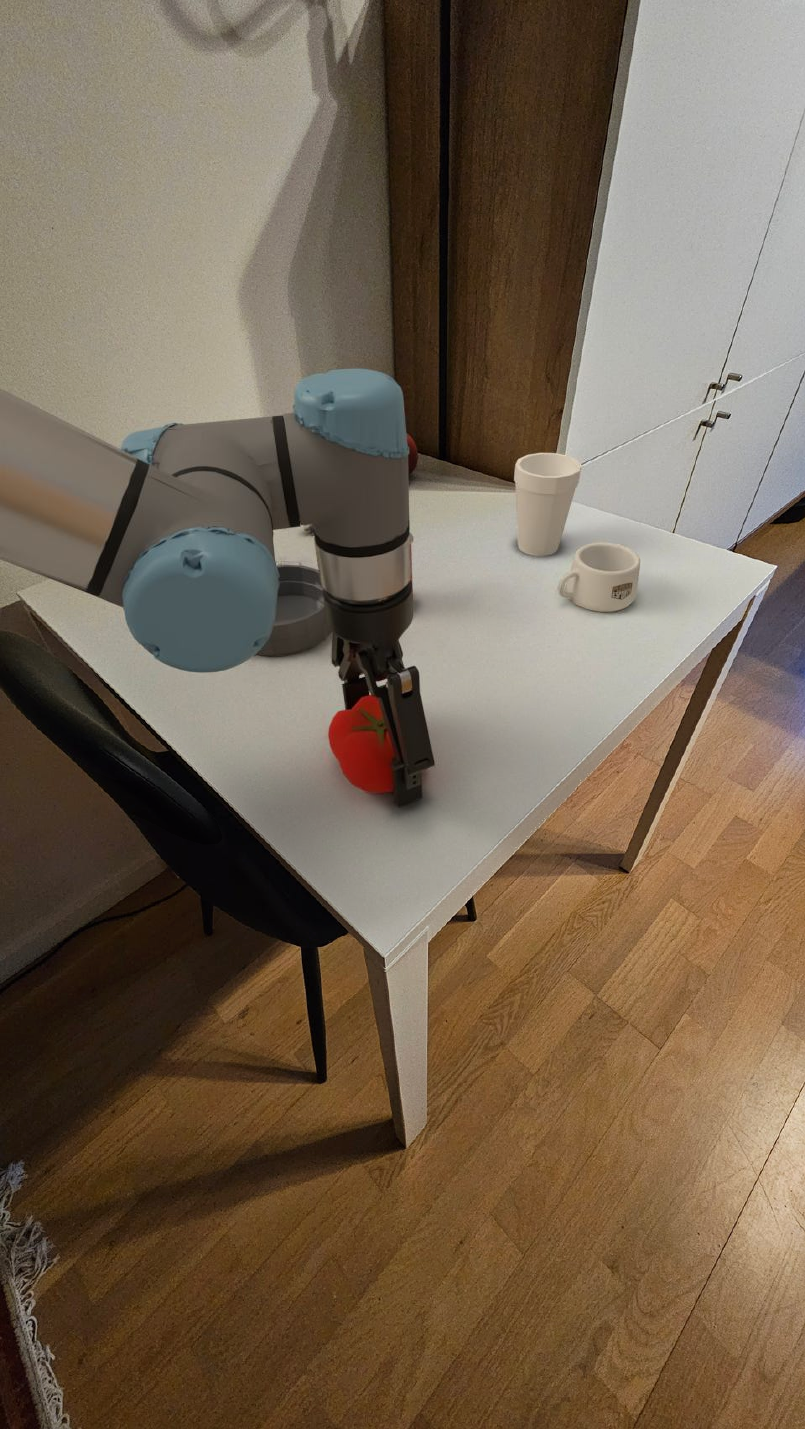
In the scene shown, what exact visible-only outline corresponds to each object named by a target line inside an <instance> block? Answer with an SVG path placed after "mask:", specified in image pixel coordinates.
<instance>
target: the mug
mask: <svg viewBox="0 0 805 1429" xmlns="http://www.w3.org/2000/svg"><path fill="white" fill-rule="evenodd" d="M640 568H641V558H640V556H639V555H638V553H637V552H636V551H634V550H632V549H631V548H629V547H627V546H624V545H622V544H618V543H613V542H593V543H592V542H591V543H588V544H585V545H583V546H581V547H579V548H578V549H577V551H575V554H574V556H573V560H572V563H571V567H570V570H569V571H568V572H566V573H565V574H563V575H562V577H561V578H560V580H559V582H558V585H557V592H558V595H560V597H562V598H565V599H570V600H571V601H572V602H573V603H574V604H576V605H577V606H580V607H582V608H583V609H586V610H590V611H593V612H594V611H595V612H602V613H605V612H607V613H608V612H609V613H611V612H616V611H617V612H618V611H621V610H624V609H625V608H627V607H629V606H630V605H632V603H633V602H634V601H635V599H636V598H637V594H638V586H639V578H640V571H641V570H640ZM564 587H565V588H564Z"/></svg>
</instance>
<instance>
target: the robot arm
mask: <svg viewBox="0 0 805 1429" xmlns="http://www.w3.org/2000/svg"><path fill="white" fill-rule="evenodd" d="M293 401H294V402H293V403H294V404H292V411H293V412H287V413H283V414H282V415H272V416H262V417H252V418H251V417H250V418H241V419H229V420H219V421H208V422H196V423H186V424H185V423H182V422H181V423H179V422H171V423H167V424H165V425H164V426H159V427H154V428H148V429H143V430H137V431H133V432H131V433H129V434H128V435H127V436H126V437H125V438H124V439H123V440H122V443H121V446H120V448H119V447H117V446H115V445H113V444H111V443H109V442H107V441H106V440H103V439H101V438H99V437H97V436H96V435H93V434H92V433H90V432H88V431H85V430H83V429H81V428H80V427H78V426H75V425H74V424H72V423H69V422H68V421H66V420H63V419H62V418H60V417H58V416H56V415H54V414H52V413H50V412H48V411H46V410H44V409H42V408H40V407H38V406H36V405H34V404H32V403H30V402H28V401H26V400H25V399H23V398H21V397H18V396H16V395H14V394H12V393H11V392H9V391H6V390H4V389H3V388H1V387H0V561H3V562H6V563H9V564H11V565H13V566H15V567H18V568H21V569H24V570H27V571H29V572H31V573H33V574H34V573H35V574H37V575H39V576H42V577H45V578H47V579H50V580H52V581H55V582H57V583H60V584H63V585H64V586H68V587H70V588H73V589H76V590H79V591H81V592H84V593H87V594H89V595H92V596H94V597H96V598H99V599H101V600H104V601H106V602H108V603H111V604H112V605H116V606H118V607H120V608H123V611H124V619H125V622H126V625H127V627H128V629H129V632H130V634H131V635H132V637H133V639H134V640H135V641H136V642H137V643H138V644H139V645H141V647H143V648H144V649H145V650H146V651H147V653H150V654H151V655H152V656H153V658H154V659H155V660H157V661H159V663H162V664H163V665H166V666H169V667H171V668H173V669H177V670H179V671H185V672H189V673H202V674H203V673H207V674H208V673H219V672H223V671H228V670H230V669H233V668H236V667H238V666H241V665H242V664H244V663H246V662H247V661H249V660H251V659H252V658H253V657H254V656H255V655H258V654H257V653H258V652H259V651H260V650H261V648H262V647H263V645H264V644H265V643H266V642H267V641H269V637H270V635H271V633H272V630H273V627H274V623H275V617H276V606H277V593H278V589H279V587H280V586H279V576H280V575H279V572H278V568H277V565H278V564H277V563H276V554H275V545H274V531H277V530H285V529H293V528H299V527H300V528H301V527H302V526H304V525H309V524H313V527H314V531H313V534H314V537H313V541H314V548H315V555H316V562H317V570H319V577H320V582H321V585H322V587H323V599H324V605H325V612H326V619H327V624H328V626H329V628H330V630H331V631H332V632H331V653H330V654H331V655H330V658H331V660H330V662H331V664H332V665H333V667H334V668H337V667H339V668H338V671H337V674H338V675H337V676H338V678H339V679H340V681H341V682H343V683H341V687H342V692H343V693H342V696H343V701H344V710H349V709H352V708H353V707H354V706H355V704H356V703H357V702H358V701H359V700H360V699H361V697H364V696H368V695H372V696H374V697H377V699H378V702H379V705H380V709H381V712H382V715H383V718H384V722H385V725H386V728H387V731H388V734H389V738H390V741H391V744H392V747H393V751H394V754H395V757H393V758H392V763H389V764H390V767H391V769H392V771H393V784H394V791H393V796H394V797H393V798H394V804H395V805H396V807H397V808H401V807H404V806H406V805H409V804H411V803H414V802H416V801H418V800H421V799H423V777H422V776H423V775H422V774H423V772H424V771H427V770H429V769H431V768H434V767H435V766H436V762H435V758H434V754H433V748H432V743H431V738H430V734H429V728H428V723H427V719H426V713H425V709H424V704H423V699H422V694H421V681H420V671H419V669H418V667H417V666H416V665H411V666H409V667H405V665H404V662H403V658H404V652H403V649H402V645H401V643H400V638H401V637H402V636H403V634H404V633H405V632H406V631H407V630H408V629H409V627H410V626H411V624H412V622H413V620H414V592H413V593H412V585H413V582H412V583H411V580H410V578H411V553H410V544H411V545H412V543H414V537H415V536H414V535H413V533H412V532H410V531H411V529H410V528H411V527H410V526H411V525H410V524H411V522H410V485H409V484H410V483H409V481H410V480H409V478H410V476H408V454H409V447H408V444H407V435H406V433H407V426H406V414H405V402H404V393H403V390H402V387H401V386H400V385H399V384H398V382H397V381H396V380H395V378H393V377H392V376H390V375H388V374H387V373H384V372H381V371H377V370H374V369H369V368H339V369H330V370H328V371H327V372H320V373H314V374H311V375H308V376H307V377H304V378H303V379H301V380H300V381H299V382H298V383H297V385H296V386H295V387H294V392H293ZM362 675H364V676H362ZM360 676H362V677H360ZM385 680H386V682H385V683H384V684H382V685H380V686H378V684H377V683H378V682H382V681H385ZM422 771H423V772H422Z"/></svg>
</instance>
